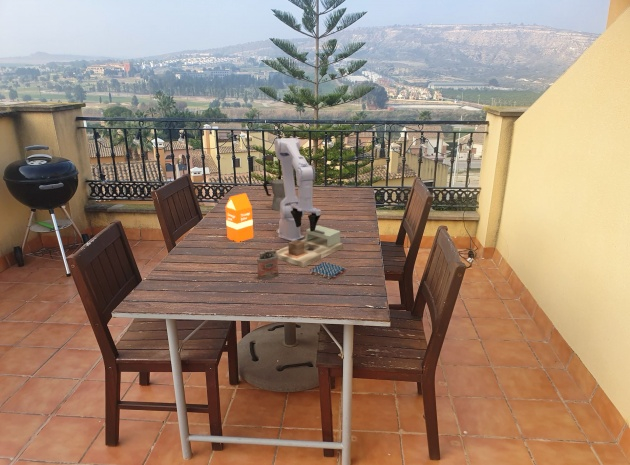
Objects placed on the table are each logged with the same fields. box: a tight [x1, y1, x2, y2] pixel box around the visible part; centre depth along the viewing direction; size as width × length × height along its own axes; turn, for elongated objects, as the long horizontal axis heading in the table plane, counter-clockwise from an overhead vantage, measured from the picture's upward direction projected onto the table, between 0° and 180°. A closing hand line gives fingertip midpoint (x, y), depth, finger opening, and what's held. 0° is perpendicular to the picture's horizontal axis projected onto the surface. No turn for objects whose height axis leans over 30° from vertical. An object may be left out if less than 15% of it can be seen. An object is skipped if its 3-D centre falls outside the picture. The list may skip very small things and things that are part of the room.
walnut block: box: [288, 239, 304, 256], centre depth 184 cm, size 4×4×4 cm
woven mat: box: [309, 261, 347, 281], centre depth 172 cm, size 10×11×2 cm
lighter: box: [256, 248, 280, 280], centre depth 168 cm, size 8×3×10 cm, turn 117°
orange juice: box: [225, 192, 254, 243], centre depth 204 cm, size 8×9×20 cm
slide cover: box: [305, 224, 341, 247], centre depth 196 cm, size 12×8×6 cm, turn 51°
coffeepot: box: [262, 175, 289, 212], centre depth 247 cm, size 15×9×18 cm, turn 103°
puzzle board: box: [273, 237, 344, 268], centre depth 190 cm, size 16×26×2 cm, turn 141°
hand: (305, 228), depth 188 cm, fingers open, 7 cm apart
